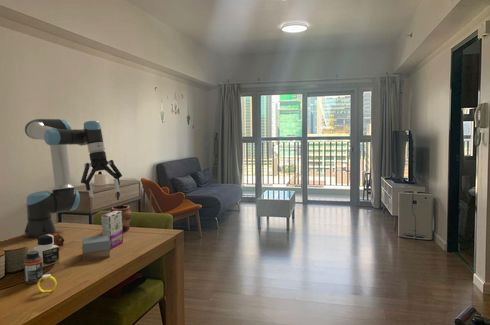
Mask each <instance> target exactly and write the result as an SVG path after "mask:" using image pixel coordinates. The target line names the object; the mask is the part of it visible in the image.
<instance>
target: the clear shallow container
mask: <svg viewBox="0 0 490 325" xmlns="http://www.w3.org/2000/svg"><path fill="white" fill-rule="evenodd" d="M81 246H82V247H81V248H82V249H81V250H82V261H83V262H85V261H93V260H98V259H99V260H100V259H105V258H110V257H111V255H110V254H111V253H110V252H111V251H110V250H111V249H108V250H101V251H93V252H86V253H83V245H81Z"/></svg>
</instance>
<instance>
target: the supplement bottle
mask: <svg viewBox="0 0 490 325" xmlns="http://www.w3.org/2000/svg"><path fill="white" fill-rule="evenodd" d="M25 254H26V258H24V260H23V267H24V268H23V269H24V280H25V282H24V283H25V284H27V285H34V284H37V283H38V281H39V280H40V279H41V278H42V276H43V275H44V273H43V272H44V271H43V268H44V267H43V266H42V257H41V256H39V251H34V250H30V251H27V252H26V253H25ZM43 280H44V279H41V281H40V282H42V281H43Z"/></svg>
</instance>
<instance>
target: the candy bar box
mask: <svg viewBox="0 0 490 325" xmlns="http://www.w3.org/2000/svg"><path fill="white" fill-rule="evenodd" d="M100 219H101V235H108V238H109V240H110V250H113V249H114V248H116V247H118V246H119V245H121V244H124V233H123V232H124V231H123V228H122V211H112V212H108V213H105V214H103V215H100Z"/></svg>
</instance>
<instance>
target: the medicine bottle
mask: <svg viewBox="0 0 490 325" xmlns="http://www.w3.org/2000/svg"><path fill="white" fill-rule="evenodd" d="M53 244H54V236H53V235H42V236H40V237H37V246H36V247H33V251H39V256H41V257H42V268H44V267H48V266H50V265H53V264H56V263H60V250H59V249H60V247H59V246H56V245H53Z"/></svg>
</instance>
